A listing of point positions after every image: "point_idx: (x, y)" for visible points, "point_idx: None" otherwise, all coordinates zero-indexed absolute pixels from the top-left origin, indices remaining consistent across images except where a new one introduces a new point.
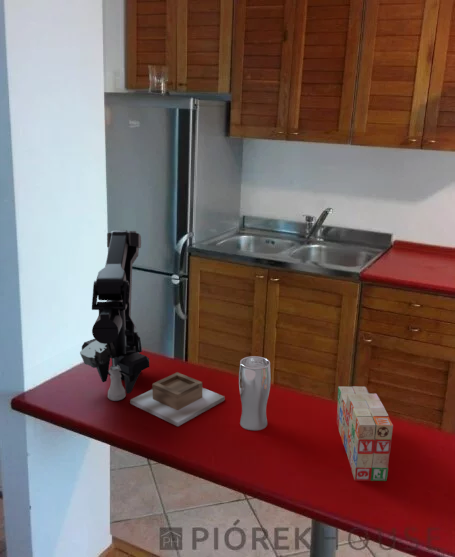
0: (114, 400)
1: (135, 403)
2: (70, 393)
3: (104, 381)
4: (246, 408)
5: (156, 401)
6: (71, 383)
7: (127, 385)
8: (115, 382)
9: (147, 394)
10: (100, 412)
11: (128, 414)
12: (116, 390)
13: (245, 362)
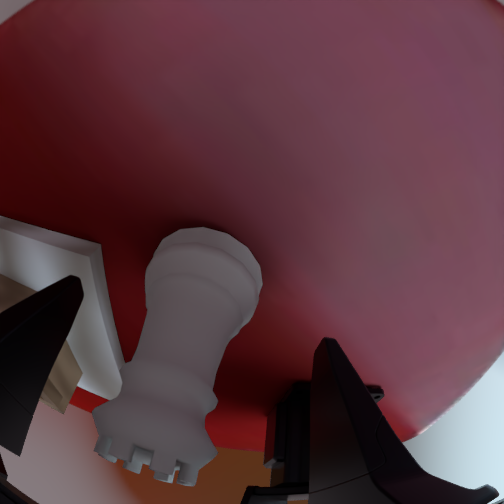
0: (182, 231)
1: (61, 243)
2: (484, 199)
3: (320, 345)
4: None
5: (30, 285)
6: (498, 282)
7: (13, 305)
8: (147, 339)
9: (87, 319)
10: (151, 71)
11: (37, 159)
12: (154, 286)
13: None
